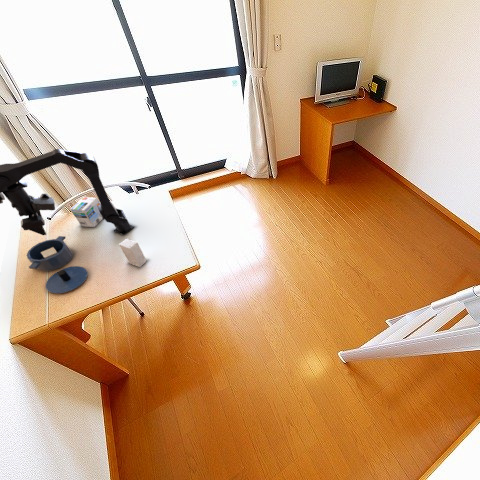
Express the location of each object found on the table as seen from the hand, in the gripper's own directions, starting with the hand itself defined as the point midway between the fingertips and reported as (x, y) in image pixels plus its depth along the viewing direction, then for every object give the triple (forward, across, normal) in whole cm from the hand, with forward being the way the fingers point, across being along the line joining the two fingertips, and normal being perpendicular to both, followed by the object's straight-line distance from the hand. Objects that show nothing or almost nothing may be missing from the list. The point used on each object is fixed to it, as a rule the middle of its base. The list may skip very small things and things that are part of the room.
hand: (43, 228), depth 117 cm
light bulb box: (+13, +15, -15) cm, 25 cm away
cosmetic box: (+13, -26, -25) cm, 39 cm away
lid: (+12, -22, 0) cm, 25 cm away
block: (+13, -6, +3) cm, 14 cm away
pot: (+13, -6, +3) cm, 14 cm away
